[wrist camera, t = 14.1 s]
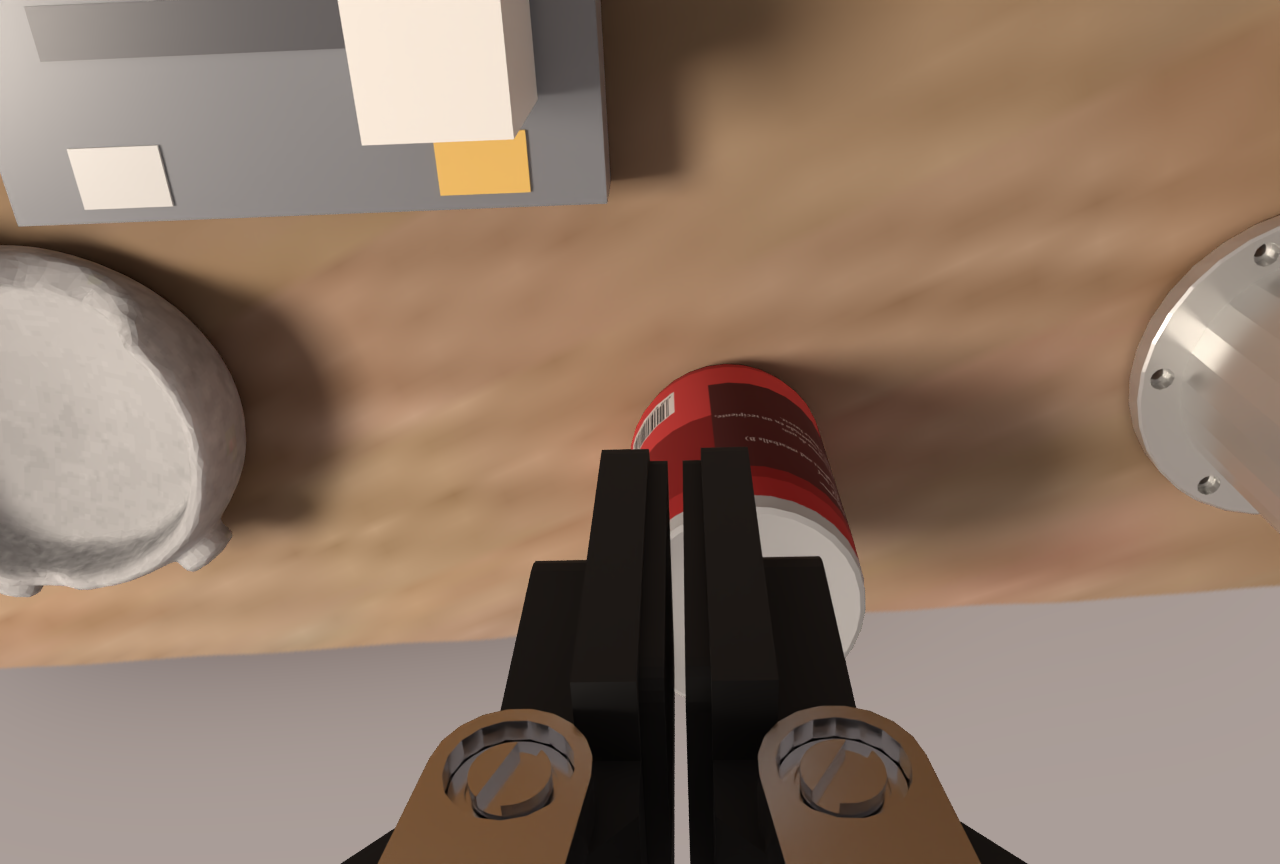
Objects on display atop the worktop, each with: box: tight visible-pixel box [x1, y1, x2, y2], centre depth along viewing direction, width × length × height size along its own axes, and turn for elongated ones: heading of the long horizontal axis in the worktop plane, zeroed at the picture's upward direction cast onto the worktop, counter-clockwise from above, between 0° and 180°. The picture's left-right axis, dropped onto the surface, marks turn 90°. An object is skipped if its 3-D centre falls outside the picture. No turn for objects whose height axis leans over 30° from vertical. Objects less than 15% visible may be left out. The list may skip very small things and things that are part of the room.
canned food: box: [631, 364, 865, 697], centre depth 37 cm, size 8×8×11 cm
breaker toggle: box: [338, 0, 538, 146], centre depth 28 cm, size 4×5×6 cm
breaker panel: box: [0, 0, 611, 226], centre depth 33 cm, size 20×12×3 cm, turn 92°
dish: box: [0, 245, 246, 597], centre depth 39 cm, size 14×14×5 cm
